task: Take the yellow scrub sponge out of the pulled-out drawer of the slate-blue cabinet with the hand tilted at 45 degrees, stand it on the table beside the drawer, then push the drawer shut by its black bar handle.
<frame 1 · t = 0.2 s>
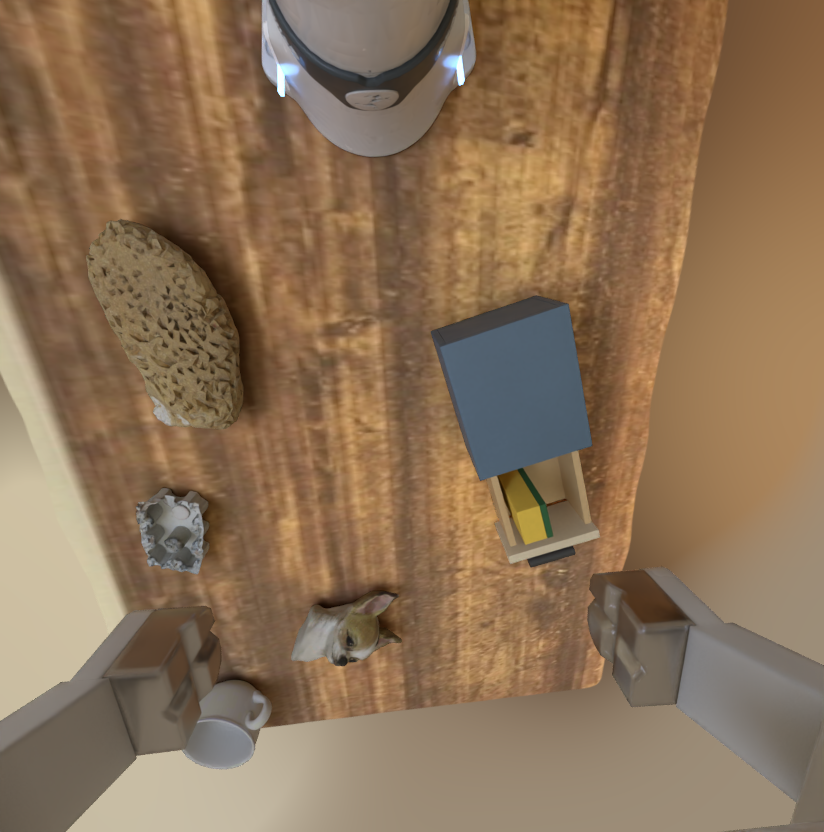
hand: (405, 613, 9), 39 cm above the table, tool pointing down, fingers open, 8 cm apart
scrub sponge: (511, 480, 51), point 2 cm above the table, touching drawer
cabinet: (498, 376, 48), on the table
ceramic sculpture: (351, 609, 60), on the table
drawer: (537, 501, 50), point 4 cm above the table, slide at 12.0 cm, touching scrub sponge
egg carton: (184, 521, 53), on the table
sponge: (188, 326, 44), on the table
teacup: (244, 688, 65), on the table
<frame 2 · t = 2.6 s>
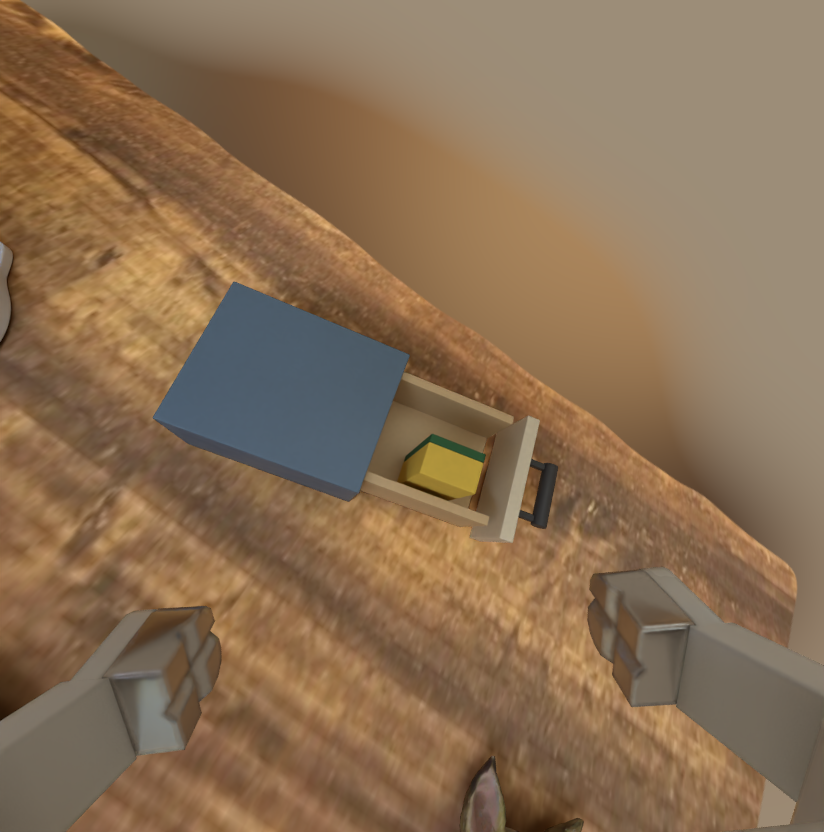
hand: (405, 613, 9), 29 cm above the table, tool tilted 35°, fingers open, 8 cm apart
scrub sponge: (422, 479, 38), point 2 cm above the table, touching drawer
cabinet: (297, 413, 39), on the table
drawer: (459, 463, 37), point 4 cm above the table, slide at 12.0 cm, touching scrub sponge
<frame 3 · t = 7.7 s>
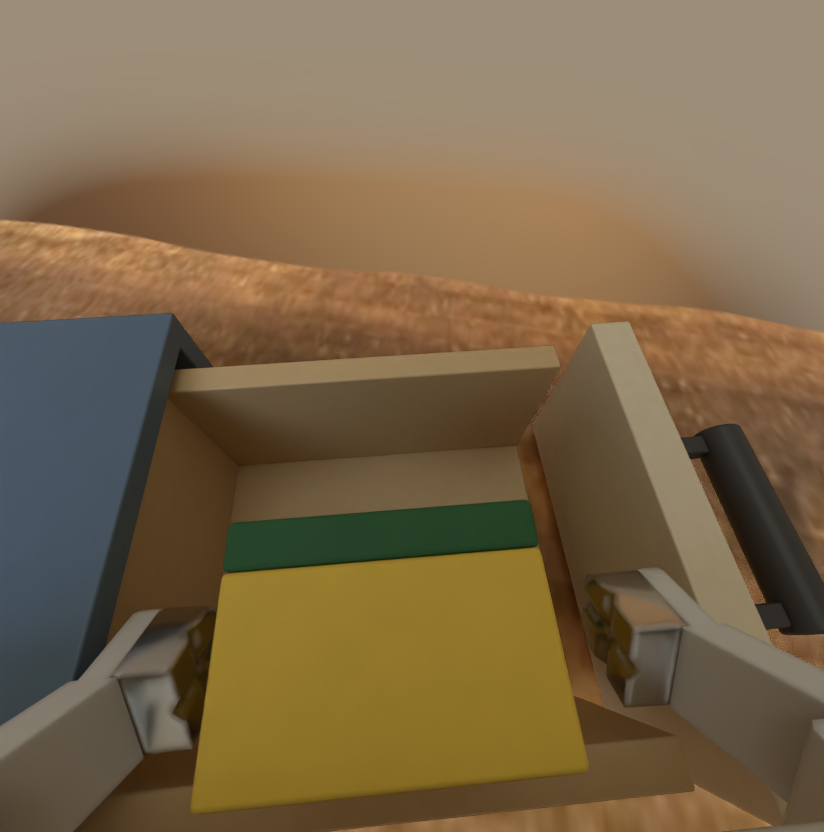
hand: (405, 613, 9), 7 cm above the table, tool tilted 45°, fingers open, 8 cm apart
scrub sponge: (401, 632, 13), point 2 cm above the table, touching drawer
cabinet: (49, 602, 15), on the table
drawer: (475, 546, 12), point 4 cm above the table, slide at 12.0 cm, touching scrub sponge
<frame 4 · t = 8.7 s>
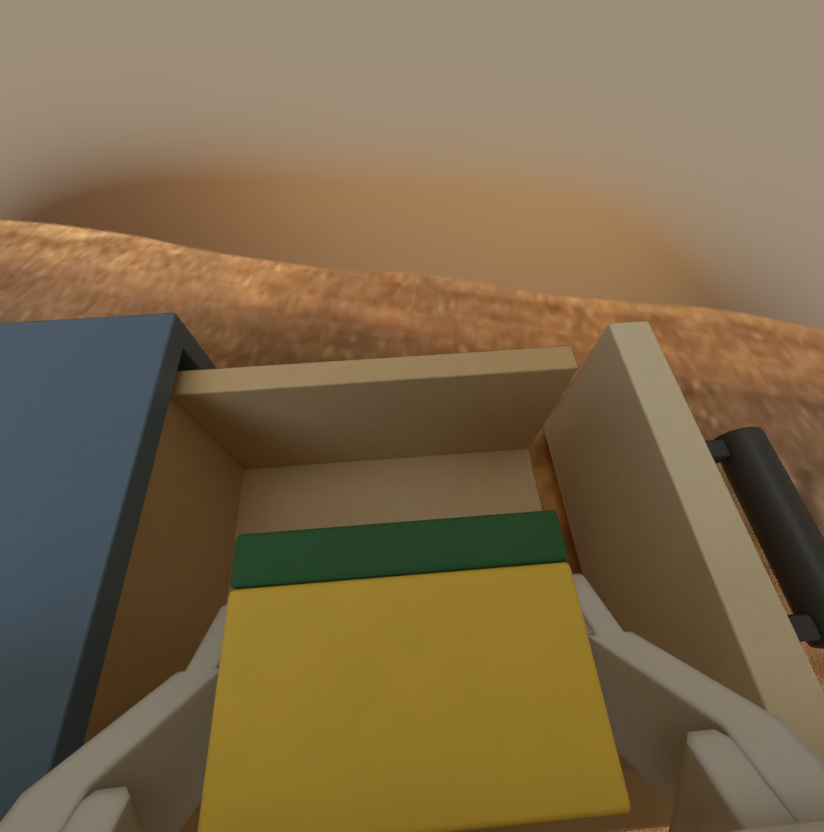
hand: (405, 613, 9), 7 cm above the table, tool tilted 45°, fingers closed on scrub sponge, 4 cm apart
scrub sponge: (411, 641, 13), point 2 cm above the table, touching drawer, gripper
cabinet: (49, 608, 15), on the table
drawer: (489, 554, 12), point 4 cm above the table, slide at 12.1 cm, touching scrub sponge
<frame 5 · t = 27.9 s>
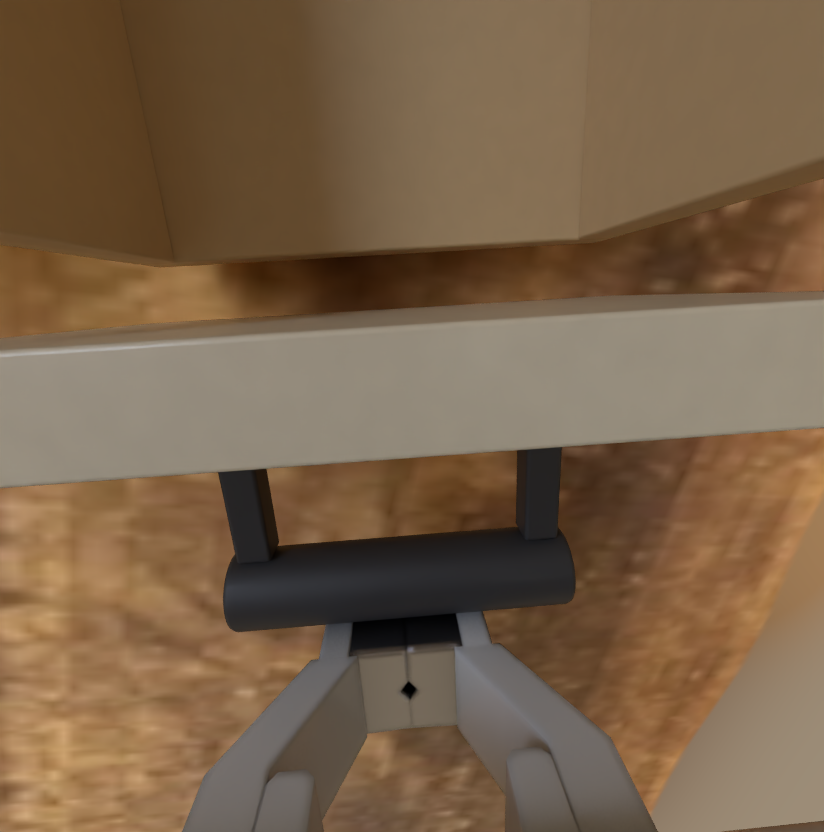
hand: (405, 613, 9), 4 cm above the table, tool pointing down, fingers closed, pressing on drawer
drawer: (359, 15, 5), point 4 cm above the table, slide at 11.2 cm, touching gripper
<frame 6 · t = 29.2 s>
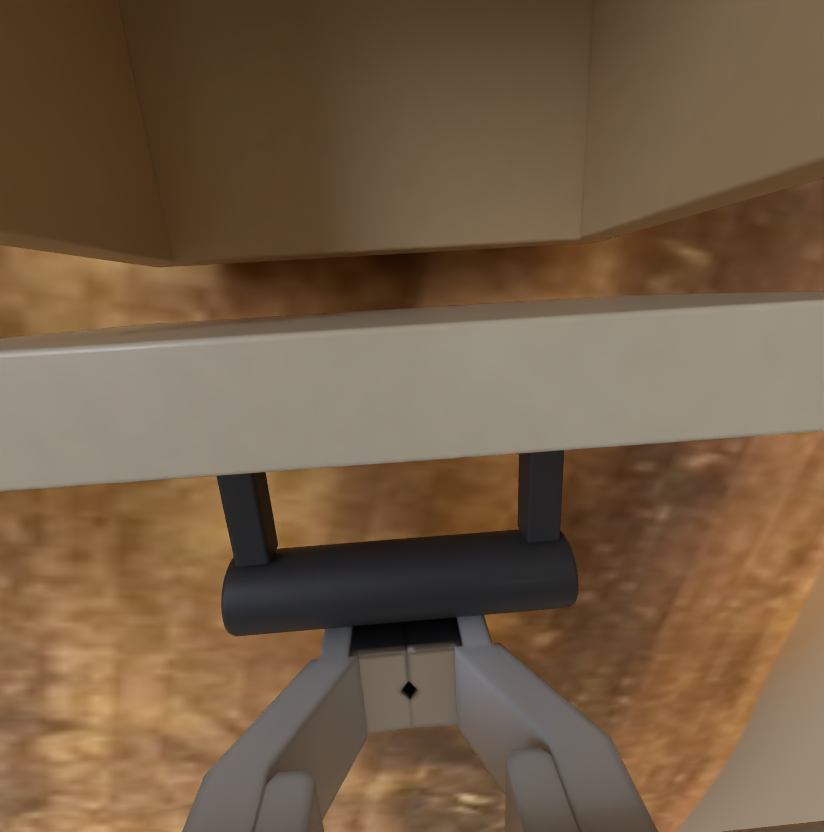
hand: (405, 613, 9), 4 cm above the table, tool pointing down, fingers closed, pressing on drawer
drawer: (359, 12, 5), point 4 cm above the table, slide at 5.9 cm, touching gripper
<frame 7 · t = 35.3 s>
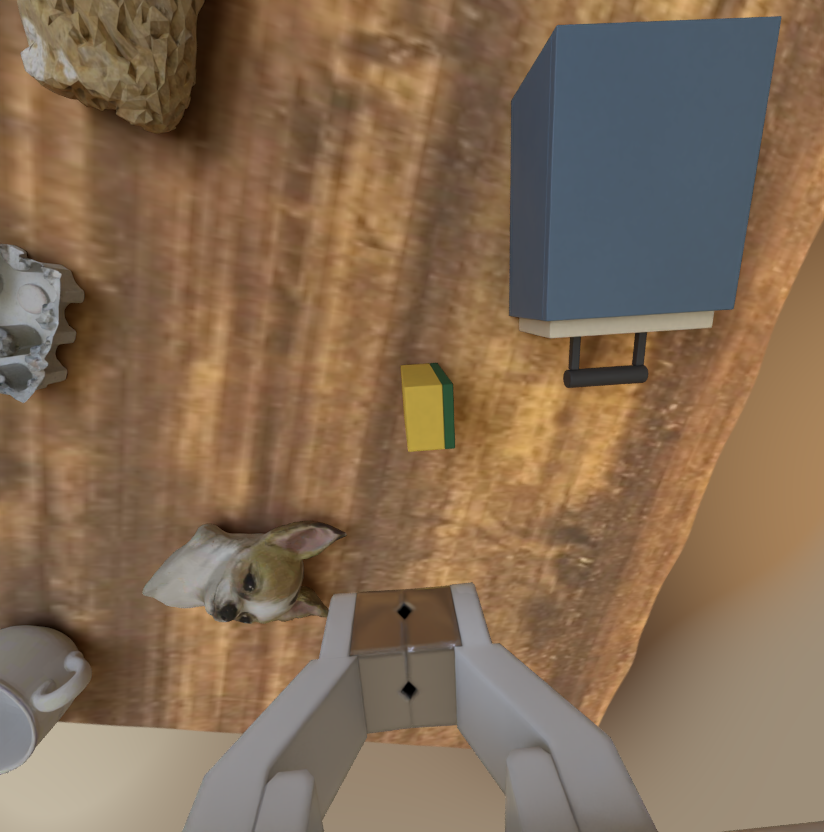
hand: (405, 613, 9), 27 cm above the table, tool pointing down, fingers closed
scrub sponge: (420, 389, 35), on the table
cabinet: (587, 211, 32), on the table
ceramic sculpture: (266, 549, 39), on the table
drawer: (611, 257, 29), point 4 cm above the table, slide at 0.0 cm, touching cabinet
egg carton: (36, 320, 32), on the table
teacup: (62, 646, 41), on the table
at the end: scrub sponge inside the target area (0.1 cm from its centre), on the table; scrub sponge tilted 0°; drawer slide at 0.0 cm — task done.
